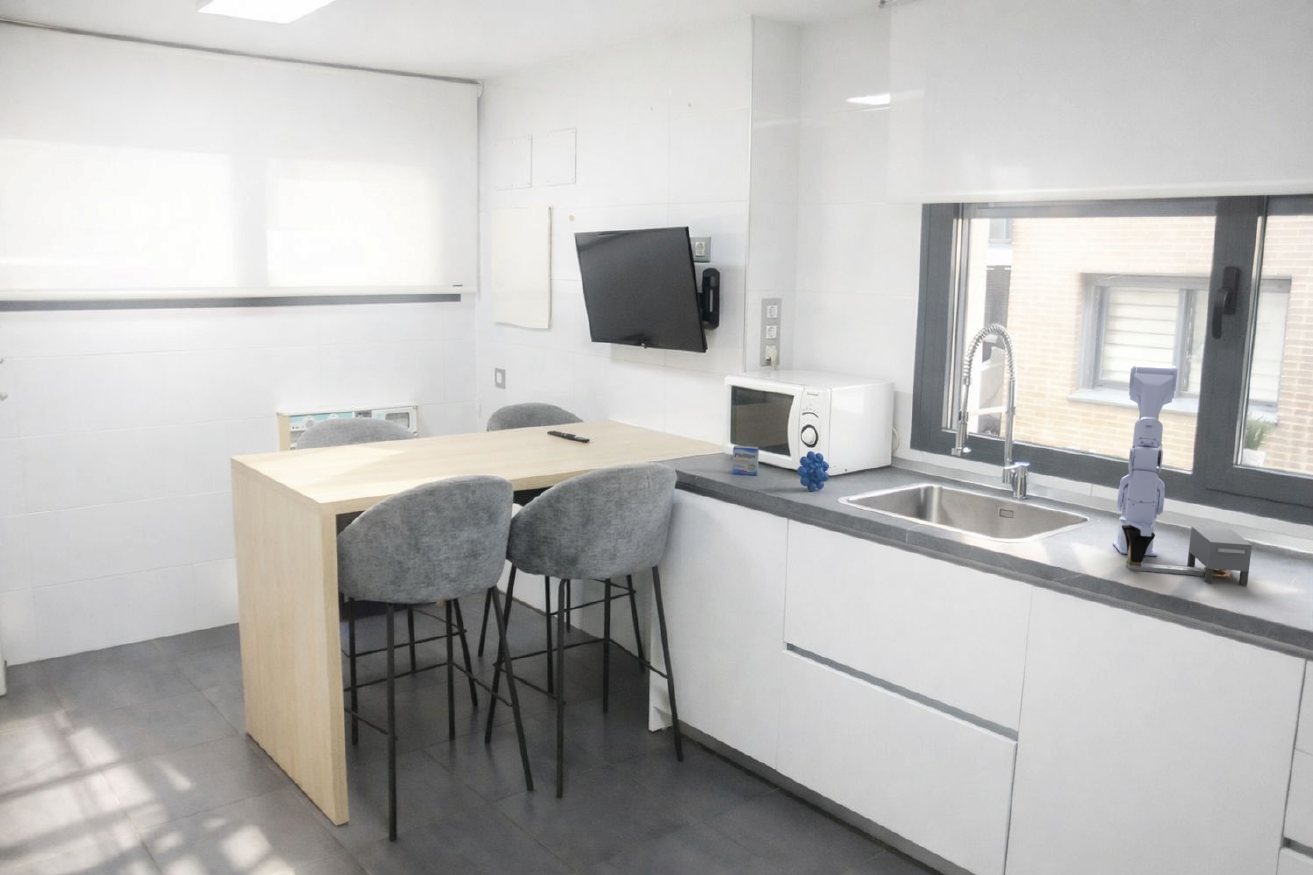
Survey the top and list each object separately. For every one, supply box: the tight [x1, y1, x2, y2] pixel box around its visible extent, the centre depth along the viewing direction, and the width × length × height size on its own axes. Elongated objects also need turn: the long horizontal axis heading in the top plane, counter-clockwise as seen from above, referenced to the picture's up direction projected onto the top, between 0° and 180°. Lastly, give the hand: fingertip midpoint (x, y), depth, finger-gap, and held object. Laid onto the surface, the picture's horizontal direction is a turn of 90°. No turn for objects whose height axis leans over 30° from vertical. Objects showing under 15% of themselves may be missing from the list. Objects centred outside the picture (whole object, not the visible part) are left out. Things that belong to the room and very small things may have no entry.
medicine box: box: [731, 445, 760, 477], centre depth 324 cm, size 8×4×9 cm, turn 80°
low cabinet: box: [1186, 525, 1253, 587], centre depth 225 cm, size 15×8×9 cm, turn 168°
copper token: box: [1203, 566, 1231, 580], centre depth 226 cm, size 5×5×2 cm
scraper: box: [1126, 542, 1205, 577], centre depth 227 cm, size 3×15×6 cm, turn 77°
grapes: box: [796, 450, 830, 492], centre depth 299 cm, size 12×7×12 cm, turn 123°
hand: (1135, 559), depth 229 cm, fingers closed on scraper, 2 cm apart
